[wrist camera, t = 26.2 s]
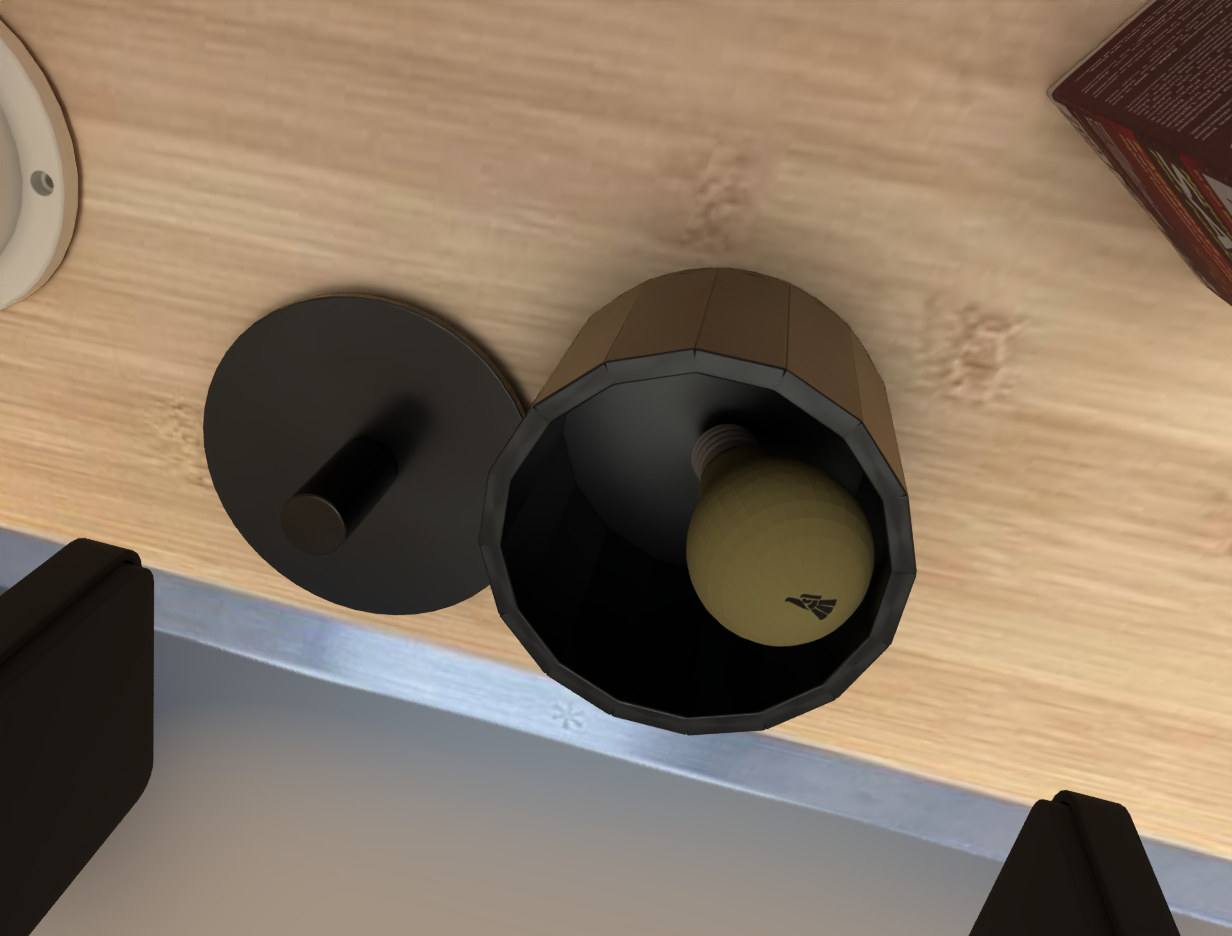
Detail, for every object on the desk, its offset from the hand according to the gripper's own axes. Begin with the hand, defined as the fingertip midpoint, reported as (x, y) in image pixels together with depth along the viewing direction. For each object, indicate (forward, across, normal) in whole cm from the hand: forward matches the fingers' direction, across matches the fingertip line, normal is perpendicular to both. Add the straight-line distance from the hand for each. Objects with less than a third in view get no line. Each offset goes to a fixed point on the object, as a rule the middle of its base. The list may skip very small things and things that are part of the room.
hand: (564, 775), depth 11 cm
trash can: (+27, -2, +7) cm, 28 cm away
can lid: (+27, +11, +12) cm, 31 cm away
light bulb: (+27, -2, +7) cm, 28 cm away
